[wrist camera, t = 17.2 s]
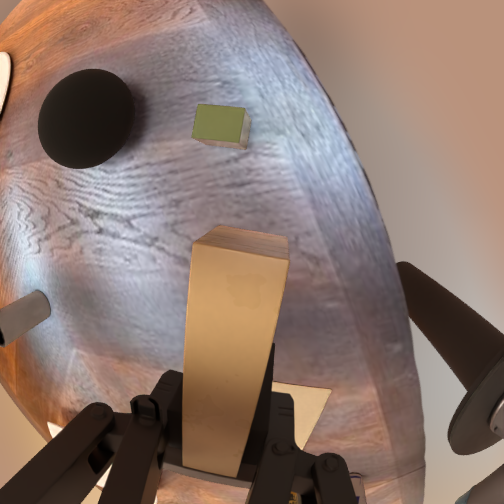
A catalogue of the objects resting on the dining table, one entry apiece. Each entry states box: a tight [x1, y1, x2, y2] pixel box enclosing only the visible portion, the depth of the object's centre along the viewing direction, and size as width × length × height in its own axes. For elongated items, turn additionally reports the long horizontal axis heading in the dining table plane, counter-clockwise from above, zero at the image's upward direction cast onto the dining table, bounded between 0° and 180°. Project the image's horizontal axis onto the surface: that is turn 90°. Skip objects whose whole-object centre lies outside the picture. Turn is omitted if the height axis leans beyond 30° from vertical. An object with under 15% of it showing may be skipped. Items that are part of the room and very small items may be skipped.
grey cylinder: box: [0, 291, 50, 347], centre depth 28 cm, size 4×4×10 cm
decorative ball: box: [38, 69, 135, 169], centre depth 21 cm, size 10×10×10 cm
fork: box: [162, 225, 290, 489], centre depth 13 cm, size 19×5×8 cm, turn 171°
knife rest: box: [192, 104, 251, 150], centre depth 23 cm, size 4×3×4 cm
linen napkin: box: [272, 381, 332, 450], centre depth 33 cm, size 15×16×1 cm
